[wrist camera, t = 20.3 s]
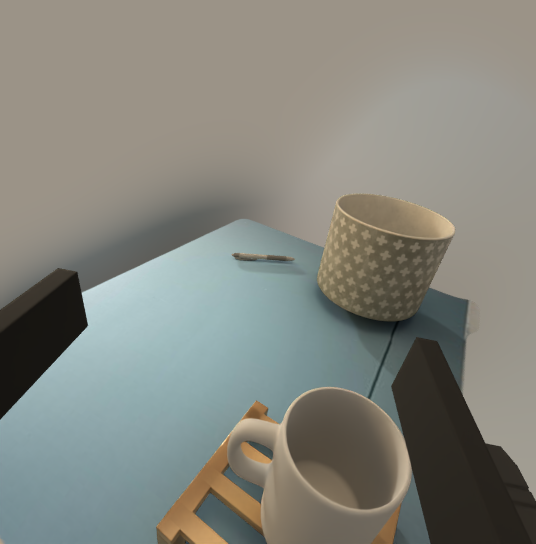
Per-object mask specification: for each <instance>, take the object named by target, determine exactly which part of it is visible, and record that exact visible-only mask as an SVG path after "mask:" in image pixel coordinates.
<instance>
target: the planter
mask: <svg viewBox="0 0 536 544" xmlns="http://www.w3.org/2000/svg"><path fill="white" fill-rule="evenodd" d="M454 234H455V228H454V226H453V224H452V223H451V222H450V221H448V220H447V219H446V218H444V217H443V216H441V215H439V214H438V213H436V212H434V211H432V210H429V209H427V208H425V207H422V206H419V205H416V204H414V203H410V202H407V201H404V200H400V199H396V198H391V197H386V196H381V195H373V194H348V195H344V196H341V197H340V198H338V200H337V202H336V206H335V209H334V213H333V217H332V221H331V225H330V229H329V233H328V237H327V240H326V244H325V248H324V252H323V256H322V260H321V264H320V268H319V272H318V276H317V282H318V285H319V287H320V289H321V290H322V292H323V293H324V294H325V295H326V296H327V297H328V298H329V299H330V300H331V301H332V302H334V303H335V304H337V305H338V306H340V307H341V308H343V309H345V310H347V311H349V312H351V313H354V314H356V315H359V316H362V317H365V318H369V319H374V320H380V321H400V320H405V319H408V318H410V317H412V316H413V315H414V314H415V313H416V312H417V311H418V309H419V307H420V305H421V303H422V301H423V298H424V296H425V294H426V292H427V290H428V288H429V286H430V284H431V282H432V280H433V278H434V275H435V273H436V271H437V269H438V267H439V265H440V263H441V261H442V259H443V257H444V254H445V253H446V250H447V248H448V246H449V244H450V242H451V240H452V238H453V236H454Z"/></svg>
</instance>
